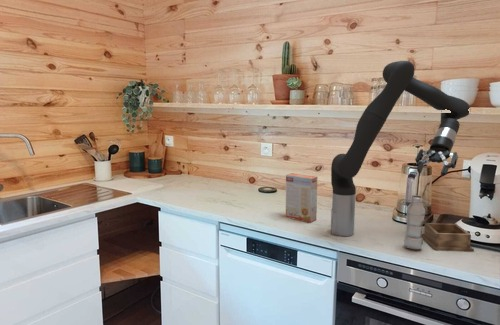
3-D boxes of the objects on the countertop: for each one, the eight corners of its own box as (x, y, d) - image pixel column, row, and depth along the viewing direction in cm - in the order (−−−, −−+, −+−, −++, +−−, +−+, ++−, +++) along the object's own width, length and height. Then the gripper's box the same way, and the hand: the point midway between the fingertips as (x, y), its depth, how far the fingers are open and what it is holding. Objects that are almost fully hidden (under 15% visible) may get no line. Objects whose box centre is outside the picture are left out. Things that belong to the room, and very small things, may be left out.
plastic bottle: (416, 244, 138) (420, 194, 134) (426, 251, 131) (430, 199, 127) (400, 244, 137) (403, 194, 134) (408, 252, 131) (412, 199, 127)
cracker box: (317, 220, 167) (318, 176, 163) (310, 223, 162) (311, 178, 159) (292, 214, 176) (292, 172, 172) (285, 217, 172) (285, 174, 168)
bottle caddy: (433, 250, 132) (434, 234, 131) (420, 236, 146) (421, 222, 145) (473, 251, 131) (475, 236, 130) (456, 237, 144) (457, 223, 143)
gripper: (422, 134, 146) (409, 165, 140) (461, 136, 136) (448, 170, 130) (427, 145, 151) (414, 176, 145) (464, 148, 140) (452, 181, 135)
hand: (430, 173), depth 137 cm, fingers open, 8 cm apart
